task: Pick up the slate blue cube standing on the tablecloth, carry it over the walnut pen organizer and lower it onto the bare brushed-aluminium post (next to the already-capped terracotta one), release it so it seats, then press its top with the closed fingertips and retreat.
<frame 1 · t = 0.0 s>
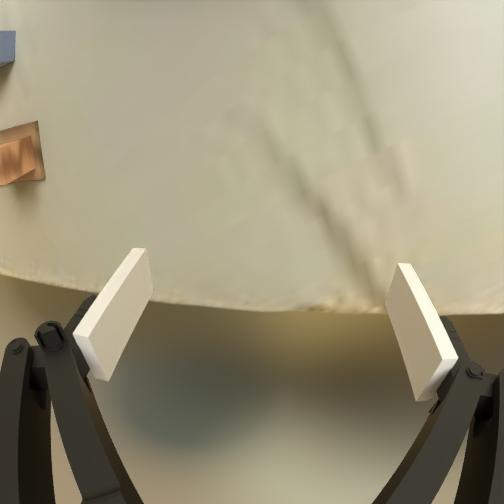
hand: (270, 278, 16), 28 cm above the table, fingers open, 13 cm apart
slate blue cube: (4, 50, 32), on the table
organizer: (9, 155, 42), on the table
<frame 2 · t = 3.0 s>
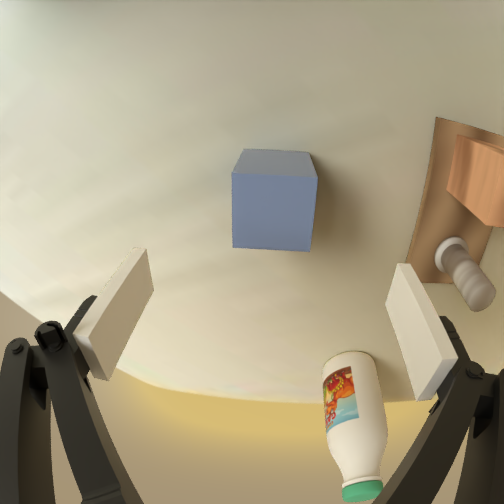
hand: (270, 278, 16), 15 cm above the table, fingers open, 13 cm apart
slate blue cube: (274, 180, 29), on the table
organizer: (459, 208, 28), on the table
milk bottle: (348, 365, 42), on the table
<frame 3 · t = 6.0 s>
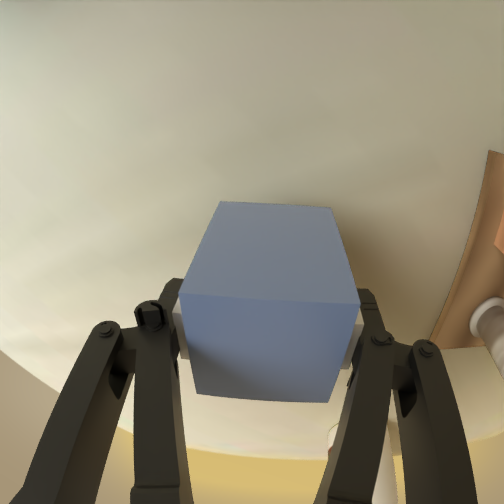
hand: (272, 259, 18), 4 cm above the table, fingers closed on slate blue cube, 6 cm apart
slate blue cube: (272, 252, 18), point 4 cm above the table, touching gripper
organizer: (502, 262, 21), on the table
milk bottle: (357, 428, 34), on the table
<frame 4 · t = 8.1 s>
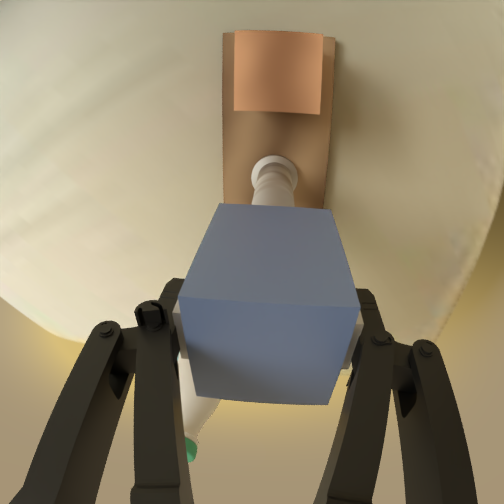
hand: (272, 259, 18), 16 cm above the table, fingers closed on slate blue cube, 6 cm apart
slate blue cube: (272, 254, 18), point 15 cm above the table, touching gripper
organizer: (276, 124, 28), on the table
milk bottle: (207, 317, 42), on the table
when the fingers open (3 cm above the table, at t = 10.4 s): slate blue cube drops 1 cm, resting on organizer.
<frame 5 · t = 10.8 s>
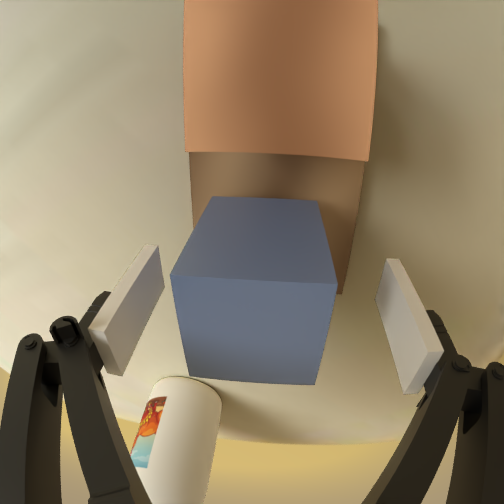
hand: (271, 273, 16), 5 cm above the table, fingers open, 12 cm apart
slate blue cube: (263, 244, 19), point 2 cm above the table, touching organizer
organizer: (277, 155, 18), on the table
milk bottle: (188, 393, 31), on the table
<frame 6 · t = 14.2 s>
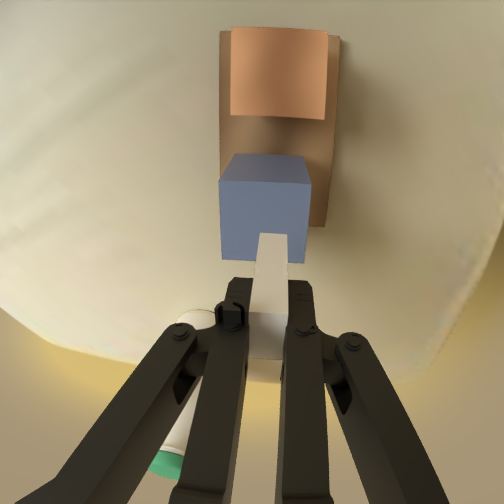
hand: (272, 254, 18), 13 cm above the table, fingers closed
slate blue cube: (268, 186, 27), point 2 cm above the table, touching organizer
organizer: (277, 128, 27), on the table
milk bottle: (204, 329, 40), on the table
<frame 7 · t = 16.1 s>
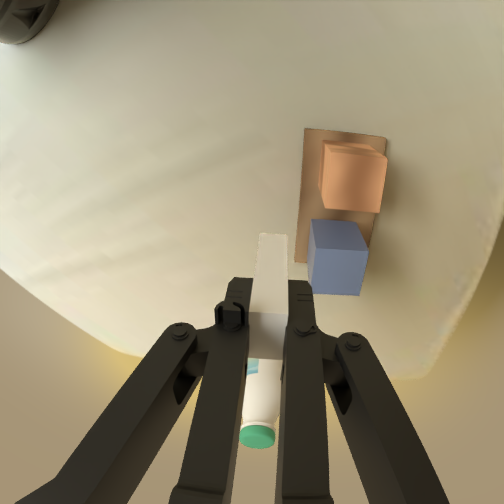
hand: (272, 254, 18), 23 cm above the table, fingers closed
slate blue cube: (331, 240, 40), point 2 cm above the table, touching organizer
organizer: (338, 200, 40), on the table
milk bottle: (267, 337, 53), on the table
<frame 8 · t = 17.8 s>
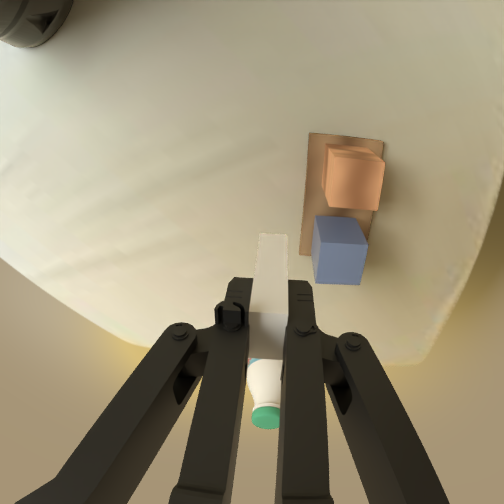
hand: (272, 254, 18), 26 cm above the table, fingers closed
slate blue cube: (333, 235, 44), point 2 cm above the table, touching organizer
organizer: (339, 198, 43), on the table
milk bottle: (273, 326, 57), on the table
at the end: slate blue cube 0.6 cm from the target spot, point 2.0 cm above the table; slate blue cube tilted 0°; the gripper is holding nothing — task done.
